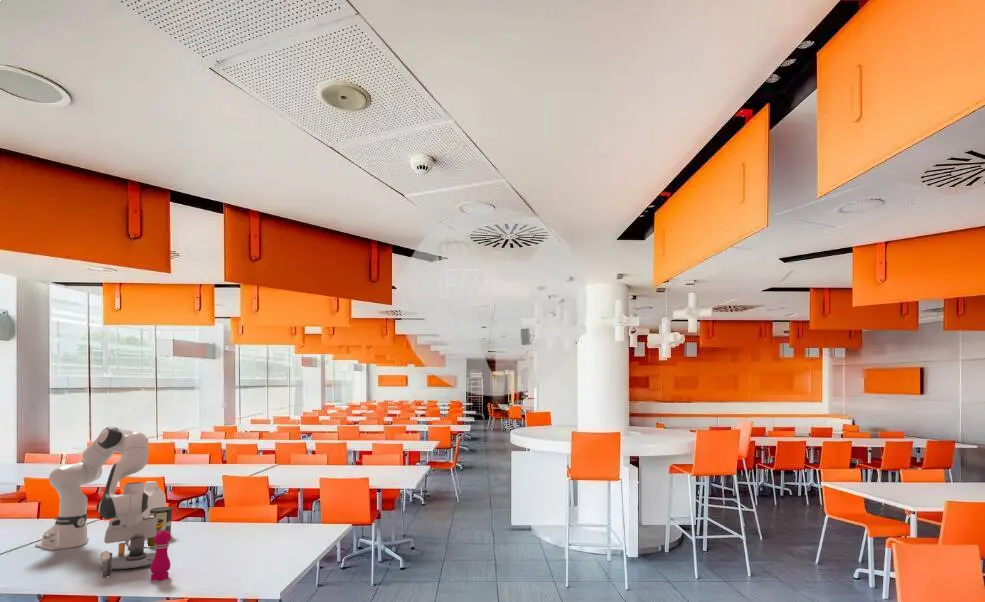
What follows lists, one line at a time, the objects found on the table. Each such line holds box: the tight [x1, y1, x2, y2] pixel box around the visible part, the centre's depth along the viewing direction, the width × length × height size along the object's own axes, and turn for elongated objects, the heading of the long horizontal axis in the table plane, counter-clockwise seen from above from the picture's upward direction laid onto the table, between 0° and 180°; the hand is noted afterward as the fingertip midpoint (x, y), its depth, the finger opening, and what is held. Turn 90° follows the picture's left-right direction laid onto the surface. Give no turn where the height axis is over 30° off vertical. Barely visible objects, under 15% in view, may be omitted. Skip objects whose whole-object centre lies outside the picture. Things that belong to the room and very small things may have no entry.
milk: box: [143, 480, 167, 517], centre depth 309 cm, size 12×12×26 cm
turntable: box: [101, 542, 156, 570], centre depth 254 cm, size 24×24×6 cm
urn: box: [126, 534, 146, 561], centre depth 255 cm, size 8×8×10 cm
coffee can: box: [150, 506, 173, 535], centre depth 297 cm, size 10×10×14 cm
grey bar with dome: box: [99, 550, 113, 578], centre depth 237 cm, size 4×3×10 cm
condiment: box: [146, 519, 163, 546], centre depth 283 cm, size 7×8×12 cm
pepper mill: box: [149, 527, 172, 582], centre depth 235 cm, size 7×7×20 cm
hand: (130, 550), depth 261 cm, fingers closed
